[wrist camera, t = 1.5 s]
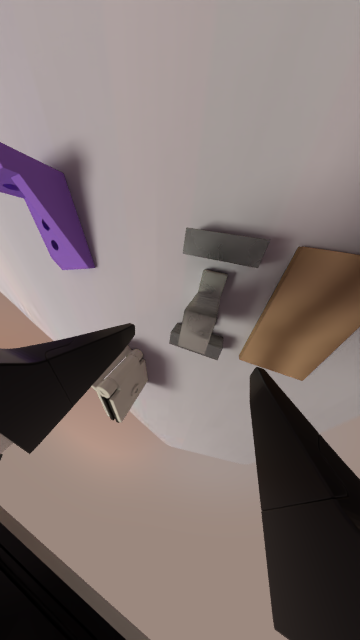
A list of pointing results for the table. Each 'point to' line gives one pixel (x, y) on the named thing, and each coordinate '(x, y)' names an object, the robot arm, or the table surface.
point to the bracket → (46, 206)
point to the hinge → (122, 383)
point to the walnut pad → (307, 313)
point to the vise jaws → (223, 250)
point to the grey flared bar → (202, 312)
